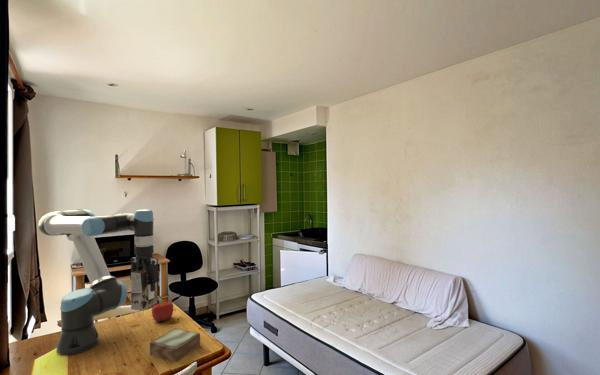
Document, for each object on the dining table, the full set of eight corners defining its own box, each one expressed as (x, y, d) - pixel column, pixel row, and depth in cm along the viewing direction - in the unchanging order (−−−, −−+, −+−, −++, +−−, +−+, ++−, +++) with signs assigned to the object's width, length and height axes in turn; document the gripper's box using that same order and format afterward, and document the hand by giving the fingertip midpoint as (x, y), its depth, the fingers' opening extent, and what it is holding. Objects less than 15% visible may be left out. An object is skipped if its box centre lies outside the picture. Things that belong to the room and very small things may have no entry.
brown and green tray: (150, 354, 131) (149, 342, 131) (175, 339, 144) (174, 327, 144) (176, 361, 126) (176, 348, 126) (200, 344, 139) (199, 332, 139)
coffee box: (143, 311, 134) (143, 273, 134) (130, 309, 136) (130, 272, 135) (157, 303, 143) (157, 267, 143) (145, 301, 145) (145, 266, 144)
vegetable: (147, 320, 164) (147, 300, 164) (166, 313, 172) (166, 295, 172) (157, 326, 157) (157, 306, 157) (177, 319, 165) (177, 300, 164)
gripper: (120, 245, 139) (120, 297, 140) (154, 248, 132) (155, 303, 132) (134, 242, 146) (135, 291, 147) (168, 245, 139) (168, 297, 139)
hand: (144, 297), depth 139 cm, fingers closed on coffee box, 7 cm apart
